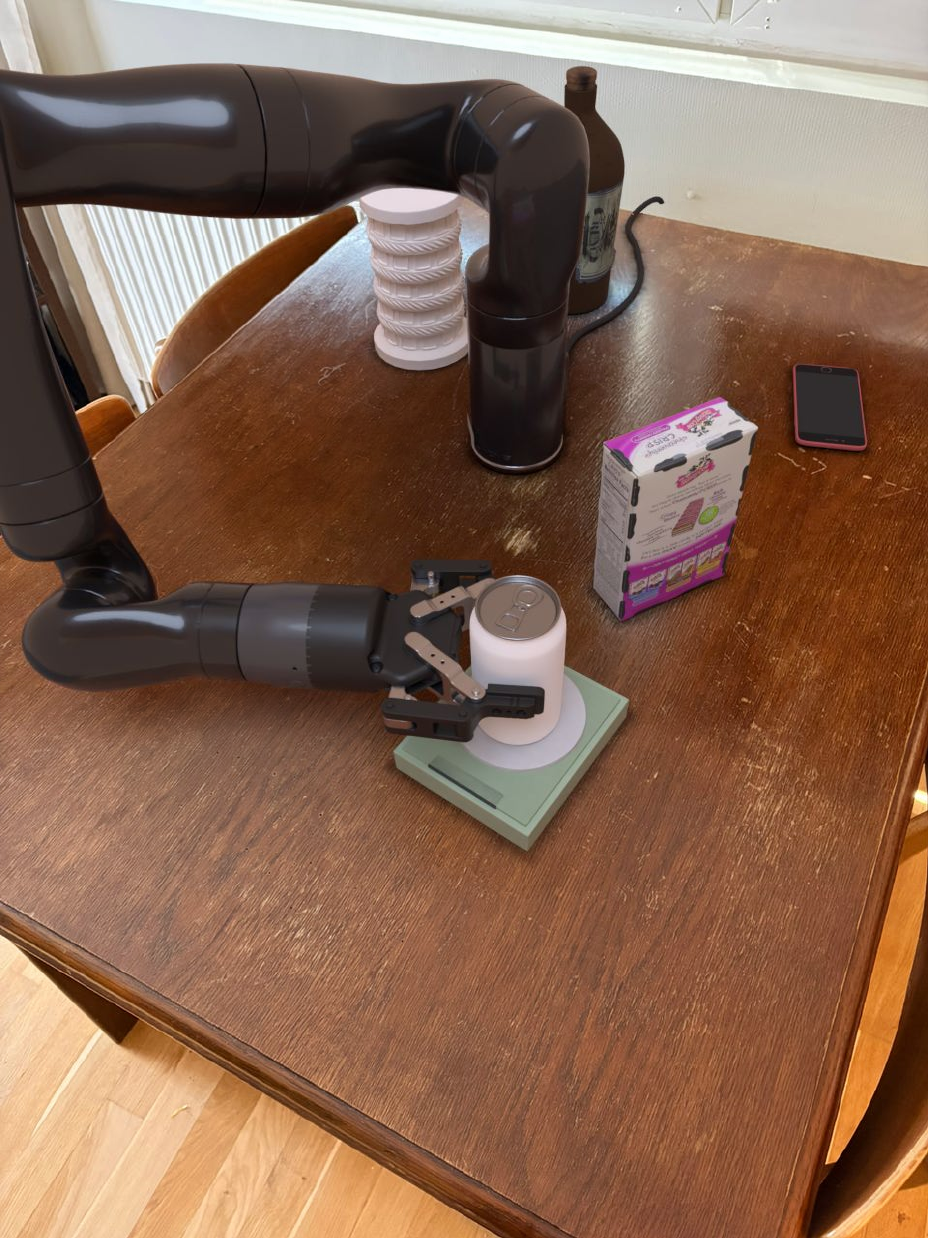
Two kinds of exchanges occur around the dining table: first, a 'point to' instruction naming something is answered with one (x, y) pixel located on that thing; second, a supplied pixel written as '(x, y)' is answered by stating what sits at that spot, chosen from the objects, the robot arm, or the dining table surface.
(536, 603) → the can
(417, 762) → the scale
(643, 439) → the candy bar box
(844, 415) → the smartphone
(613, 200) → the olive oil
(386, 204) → the decorative container
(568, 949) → the dining table surface
